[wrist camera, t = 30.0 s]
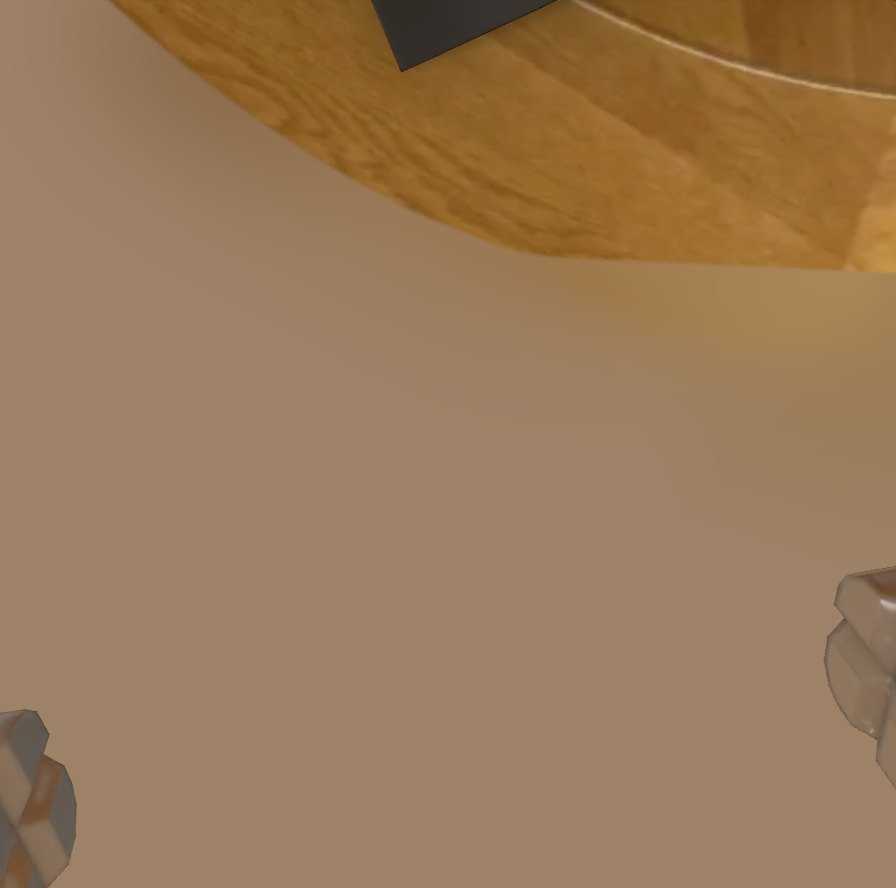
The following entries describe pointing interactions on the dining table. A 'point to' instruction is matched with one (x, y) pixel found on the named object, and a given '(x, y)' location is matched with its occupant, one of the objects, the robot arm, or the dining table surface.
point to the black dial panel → (443, 24)
